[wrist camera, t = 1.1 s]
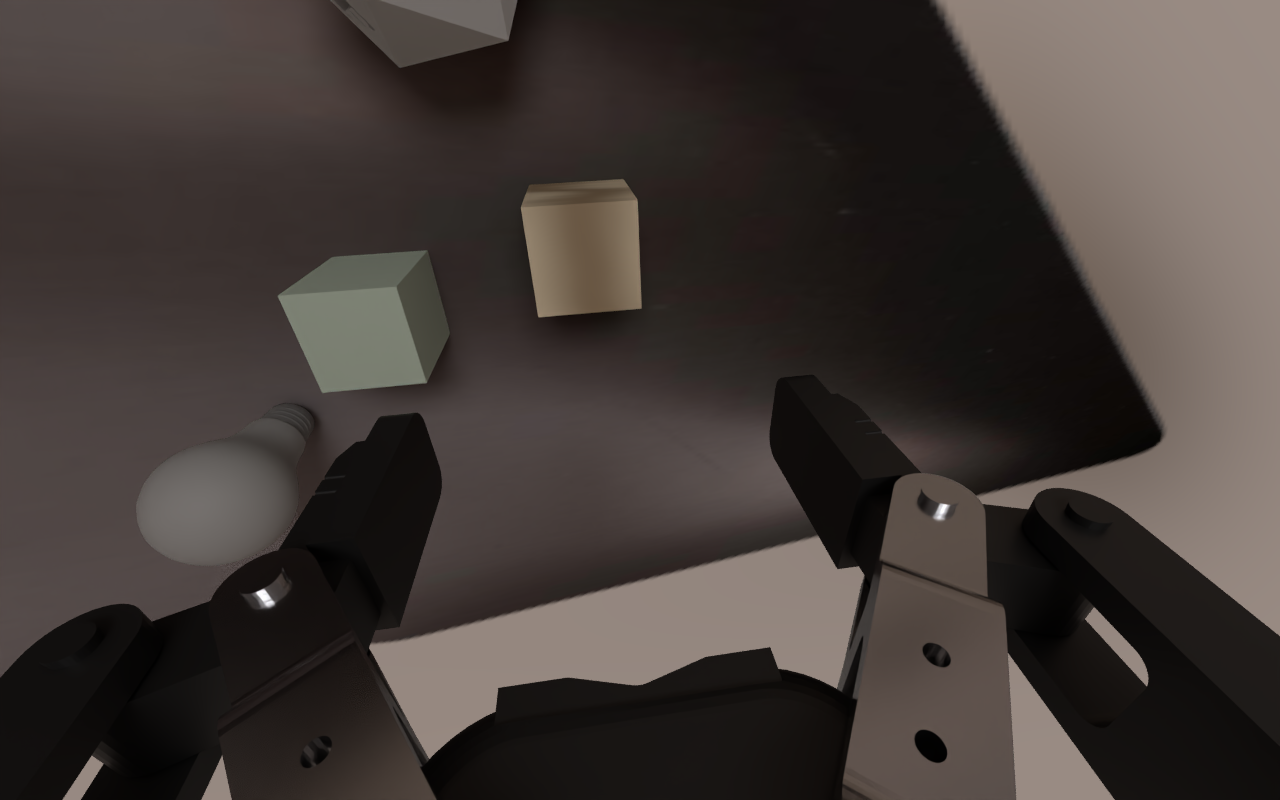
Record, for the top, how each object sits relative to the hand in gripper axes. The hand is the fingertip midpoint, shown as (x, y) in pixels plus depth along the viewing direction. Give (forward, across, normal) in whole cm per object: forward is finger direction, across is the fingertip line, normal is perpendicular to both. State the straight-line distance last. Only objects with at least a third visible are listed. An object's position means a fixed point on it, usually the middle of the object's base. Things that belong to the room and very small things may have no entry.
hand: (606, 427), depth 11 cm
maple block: (+19, 0, 0) cm, 19 cm away
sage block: (+19, +11, +3) cm, 22 cm away
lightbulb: (+19, +19, +10) cm, 29 cm away
